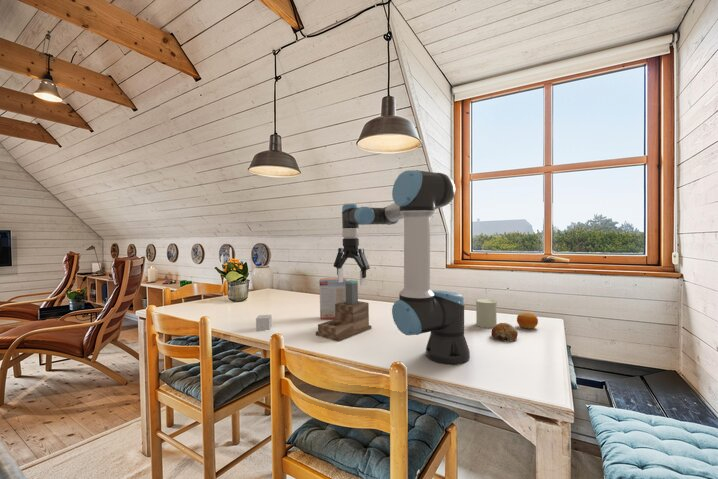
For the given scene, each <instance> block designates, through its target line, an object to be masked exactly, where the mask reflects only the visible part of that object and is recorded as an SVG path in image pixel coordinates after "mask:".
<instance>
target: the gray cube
mask: <svg viewBox="0 0 718 479" xmlns="http://www.w3.org/2000/svg"><path fill="white" fill-rule="evenodd" d="M272 317H273V316H272V314H259V315H257V317H256V318H255V327H256V328H255V331H256V332H266V331H265V330H269V331H271V329H272V327H273V323H272V321H273V320H272Z"/></svg>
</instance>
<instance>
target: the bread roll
mask: <svg viewBox="0 0 718 479" xmlns="http://www.w3.org/2000/svg"><path fill="white" fill-rule="evenodd" d="M491 337H492V338H493V339H494V340H496V341H497V340H498V341H500V340H501V341H502V342H514V341H515V340H517V339H518V331H517V329H516V328H515V327H514V326H513V325H512V324H510V323H509V322H508V323H507V322H500V323H497V325H496V326H494V327H493V328H491ZM501 341H500V342H501Z"/></svg>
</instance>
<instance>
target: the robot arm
mask: <svg viewBox="0 0 718 479" xmlns="http://www.w3.org/2000/svg"><path fill="white" fill-rule="evenodd" d="M391 192H392V193H391V195H392V196H391V197H392V200H393V203H391V204H389V205H387V206H384V207H371V206H370V207H369V206H359V205H358V204H356V203H345V204H343V205H342V208H341V217H342V220H341V221H342V222H341V225H342V233H341V234H342V235H341V236H342V247H338V249H337V254H336V257H335V259H334V263H333V267H334V268H336V275H337V278H338V283H340V282H343V278H344V269H343V266H344V264H345V262H346V261H347V260H348V259H353V260H354V262H356V264H357V265H358V267H359V269H360V270H359V286H365V285H366V278H367V271H368V270H370V269H371V267H370V264H369V262H368V260H367V257H366V254H365V249H364V248H359V246H360V239H359V232H360V230H359V228H360V226H359V225H362V226H364V225H365V226H366V225H371V226H372V225H388V226H390V225H396V224H398V222H399V220H402V219H403V289H401V290H400V292H399V294H398V296H399V299H398V300H396V301H395V302H393V305H392V308H391V315H392V319H393V322H394V325H395V326H396V328H397V329H398V331H399V332H401V333H402V334H404V335H405V336H414V335H415V336H419V335H421V334H426V333H429V332H430V334H429V338H428V341H427V344H426V347H425V356H426V358H428V359H430V360H431V361H433V362H437V363H440V364H447V365H458V364H464V363H466V362H468V361H469V360H470V358H471V355H470V354H471V353H470V352H471V351H470V349H469V345H468V342H467V340H466V337H465V307H466V306H465V302H464V300H465V299H464V296H463V295H462V294H461V293H457V292H452V291H447V290H446V291H445V290H435V289H434V290H431V217H432V216H433V215H434V214H435V213H436V210H437V209H440V208H443V207H446V206H448V205H450V203H451V202H452V201H453V200H454V198H455V194H456V185H455V182H454V180H453V179H452V178H451V177H450V176H449V175H447V174H445V173H442V172H433V171H432V172H431V171H425V170H418V169H415V170H413V169H412V170H411V169H410V170H409V169H408V170H404V171H402V172H400V174H398V176H397V178H396V179H395V181H394V183H393V186H392V190H391Z"/></svg>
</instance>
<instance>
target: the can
mask: <svg viewBox="0 0 718 479" xmlns="http://www.w3.org/2000/svg"><path fill="white" fill-rule="evenodd" d="M475 306H476V308H475V309H476V310H475V312H476V313H475V314H476V317H475V318H476V319H475V320H476V322H475V326H477V325H478V326H477V327H479V326H481V327H480V328H484V327H486V328H485V329H492V328H493V327H494V326H496V325H497V324H498V323H497V322H498V320H497V300H494V299H490V298H478V299H476V300H475Z"/></svg>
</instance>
